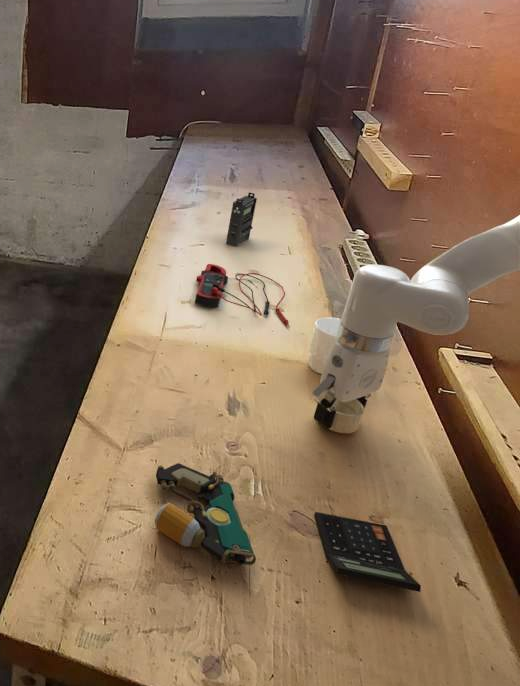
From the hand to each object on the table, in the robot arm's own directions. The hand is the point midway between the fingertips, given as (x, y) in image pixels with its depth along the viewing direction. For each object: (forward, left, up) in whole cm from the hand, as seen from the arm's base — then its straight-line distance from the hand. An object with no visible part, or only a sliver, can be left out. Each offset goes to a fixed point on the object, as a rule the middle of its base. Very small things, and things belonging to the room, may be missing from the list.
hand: (337, 417), depth 103 cm
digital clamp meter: (-20, -44, -1) cm, 48 cm away
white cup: (-13, -13, -1) cm, 18 cm away
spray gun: (+37, +7, -1) cm, 38 cm away
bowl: (0, 0, -1) cm, 1 cm away
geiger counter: (-46, -72, -1) cm, 85 cm away
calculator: (+21, +21, -1) cm, 30 cm away
